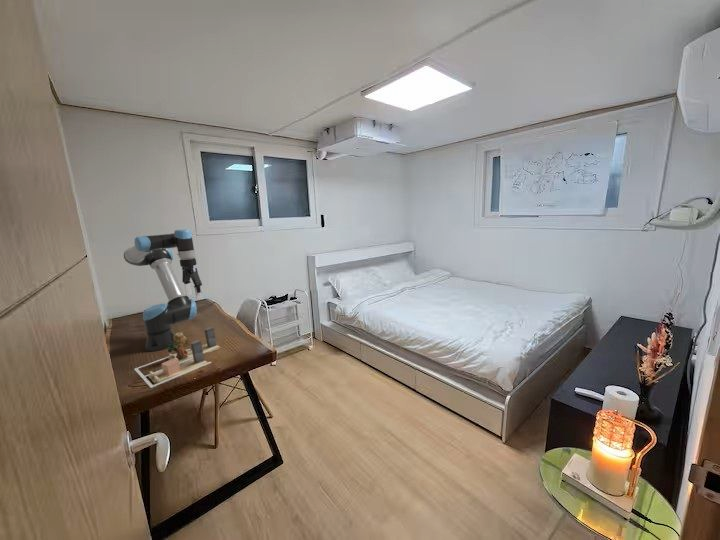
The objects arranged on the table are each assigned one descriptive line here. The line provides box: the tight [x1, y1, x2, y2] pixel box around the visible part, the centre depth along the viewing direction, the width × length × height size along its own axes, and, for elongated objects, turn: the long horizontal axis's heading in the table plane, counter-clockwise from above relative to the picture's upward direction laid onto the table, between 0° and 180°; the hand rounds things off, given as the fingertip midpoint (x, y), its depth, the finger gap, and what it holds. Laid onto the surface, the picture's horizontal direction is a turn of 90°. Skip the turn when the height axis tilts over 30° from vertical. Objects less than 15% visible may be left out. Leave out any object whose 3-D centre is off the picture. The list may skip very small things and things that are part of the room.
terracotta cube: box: [161, 359, 181, 376], centre depth 134 cm, size 5×5×5 cm
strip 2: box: [147, 339, 209, 385], centre depth 136 cm, size 11×22×11 cm, turn 140°
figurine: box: [167, 331, 188, 361], centre depth 146 cm, size 9×8×15 cm
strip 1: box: [167, 326, 221, 363], centre depth 152 cm, size 11×22×11 cm, turn 140°
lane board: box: [133, 348, 212, 389], centre depth 140 cm, size 27×25×1 cm
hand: (194, 296), depth 159 cm, fingers open, 13 cm apart
